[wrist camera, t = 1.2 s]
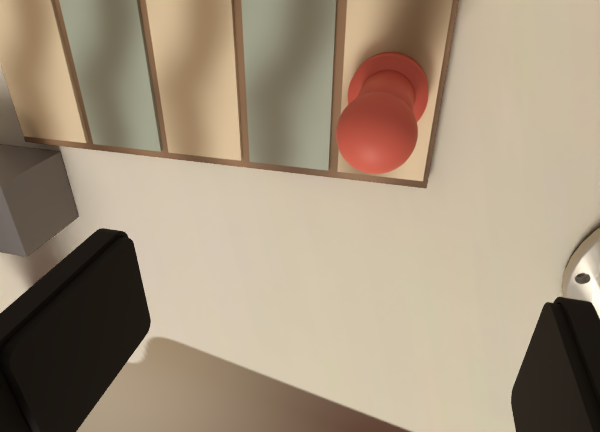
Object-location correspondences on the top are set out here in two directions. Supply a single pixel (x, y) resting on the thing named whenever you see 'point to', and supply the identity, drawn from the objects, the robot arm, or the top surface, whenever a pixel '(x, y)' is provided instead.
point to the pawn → (382, 113)
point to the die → (32, 198)
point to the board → (216, 76)
